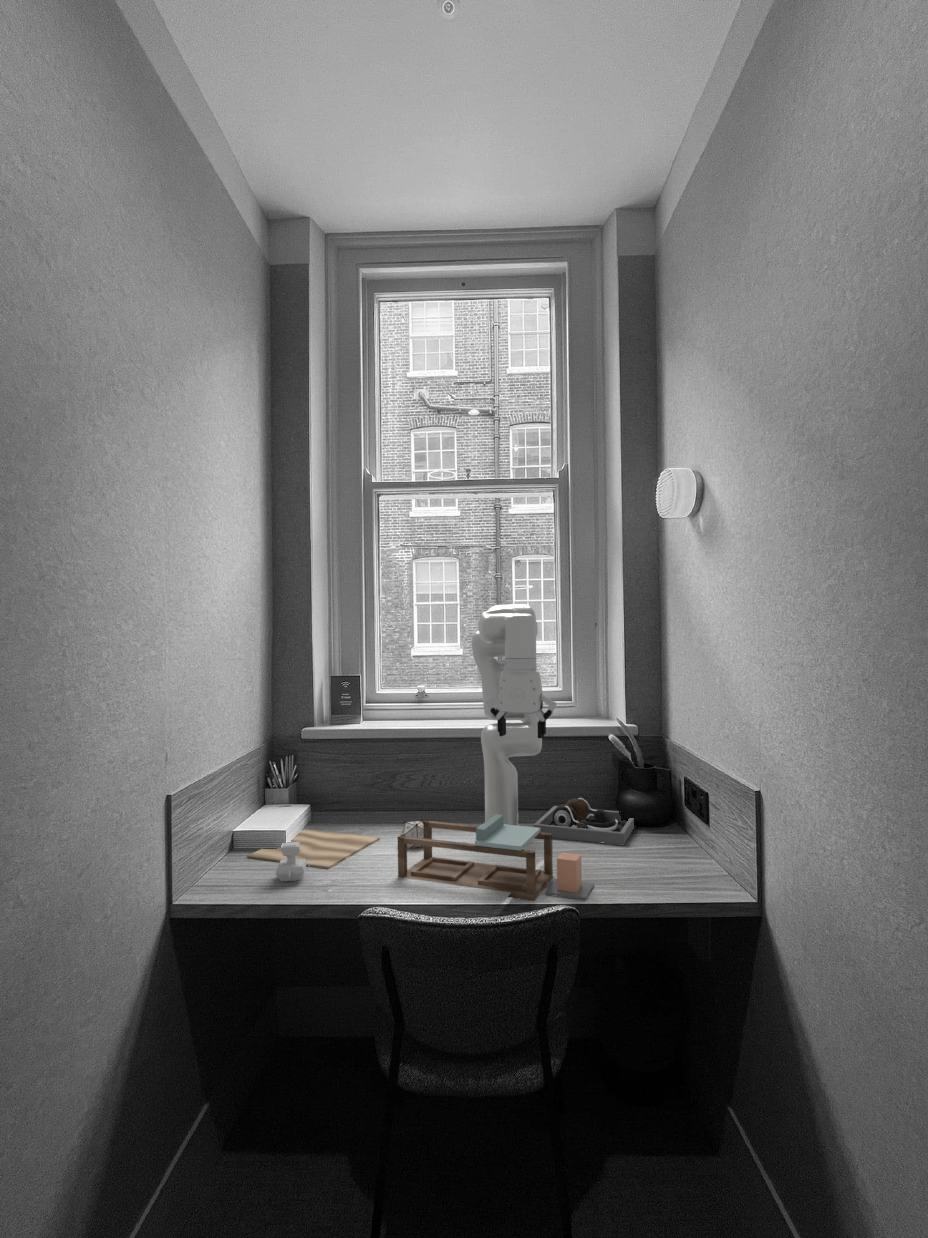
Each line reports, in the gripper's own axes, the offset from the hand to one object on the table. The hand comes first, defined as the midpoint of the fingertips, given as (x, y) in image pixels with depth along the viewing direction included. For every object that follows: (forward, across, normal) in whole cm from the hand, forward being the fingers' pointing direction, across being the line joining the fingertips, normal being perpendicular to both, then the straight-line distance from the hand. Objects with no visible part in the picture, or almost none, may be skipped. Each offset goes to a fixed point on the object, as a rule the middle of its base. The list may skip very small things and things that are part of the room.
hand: (521, 736), depth 174 cm
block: (+33, +13, -6) cm, 36 cm away
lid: (+23, -1, -7) cm, 24 cm away
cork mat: (+33, -59, 0) cm, 68 cm away
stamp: (+34, -51, -22) cm, 65 cm away
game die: (+34, -33, +8) cm, 48 cm away
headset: (+34, +6, +44) cm, 55 cm away
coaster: (+33, +13, -6) cm, 36 cm away
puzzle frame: (+33, -10, -7) cm, 35 cm away
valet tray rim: (+33, +6, +42) cm, 54 cm away
